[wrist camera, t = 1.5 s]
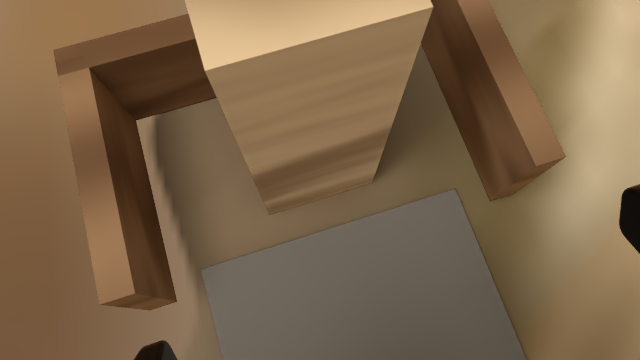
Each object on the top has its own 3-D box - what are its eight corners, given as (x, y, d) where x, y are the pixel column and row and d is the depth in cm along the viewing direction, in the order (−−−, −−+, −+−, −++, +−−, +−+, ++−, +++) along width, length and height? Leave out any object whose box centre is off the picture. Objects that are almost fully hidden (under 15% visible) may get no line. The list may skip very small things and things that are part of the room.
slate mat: (558, 441, 20) (561, 443, 19) (271, 548, 18) (269, 552, 18) (453, 190, 23) (455, 188, 22) (202, 270, 22) (200, 269, 21)
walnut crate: (514, 193, 23) (565, 156, 18) (149, 310, 21) (99, 304, 16) (432, 14, 25) (458, -59, 21) (106, 105, 24) (53, 50, 19)
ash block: (372, 182, 23) (433, 6, 10) (269, 214, 22) (205, 71, 10) (338, 91, 24) (356, -162, 12) (241, 119, 24) (153, -112, 11)
